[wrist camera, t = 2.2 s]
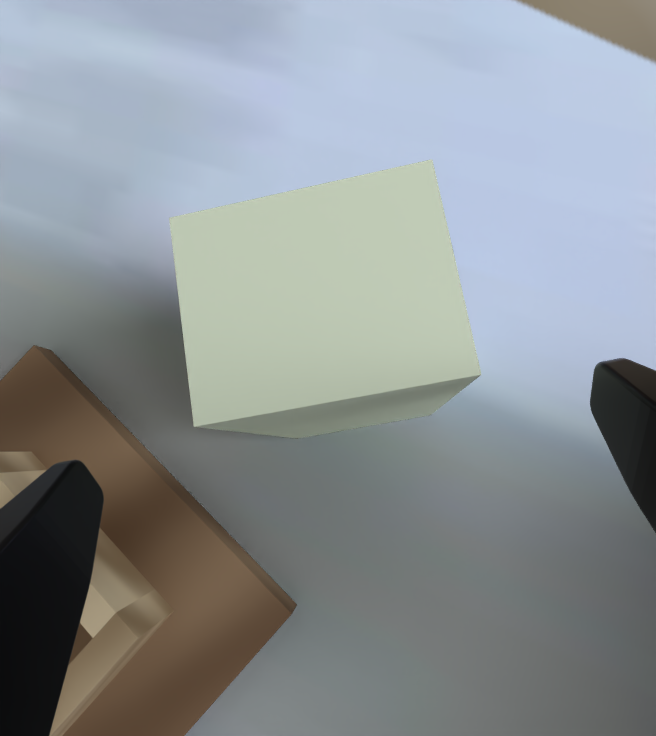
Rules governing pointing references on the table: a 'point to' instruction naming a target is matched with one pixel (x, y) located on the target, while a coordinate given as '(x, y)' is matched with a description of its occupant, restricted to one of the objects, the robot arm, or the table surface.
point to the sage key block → (323, 307)
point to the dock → (137, 568)
